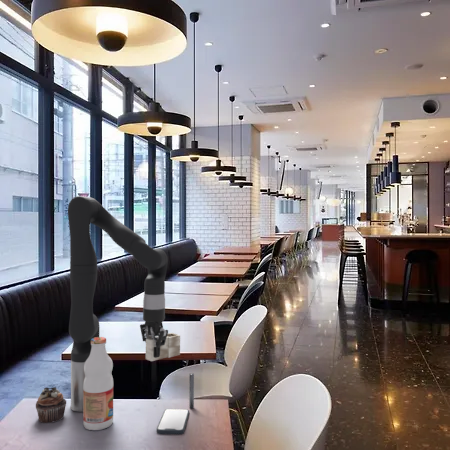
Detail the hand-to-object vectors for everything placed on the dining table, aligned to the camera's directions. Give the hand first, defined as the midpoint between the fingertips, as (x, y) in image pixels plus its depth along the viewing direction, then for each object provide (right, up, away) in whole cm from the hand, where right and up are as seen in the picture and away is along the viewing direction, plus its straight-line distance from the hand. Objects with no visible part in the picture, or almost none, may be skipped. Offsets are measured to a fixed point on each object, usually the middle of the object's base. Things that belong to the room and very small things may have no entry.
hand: (153, 355), depth 147 cm
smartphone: (+8, -20, -7) cm, 23 cm away
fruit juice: (-16, -20, -9) cm, 27 cm away
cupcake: (-34, -20, -4) cm, 39 cm away
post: (+13, -20, +4) cm, 24 cm away
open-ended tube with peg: (+3, -1, +3) cm, 4 cm away
